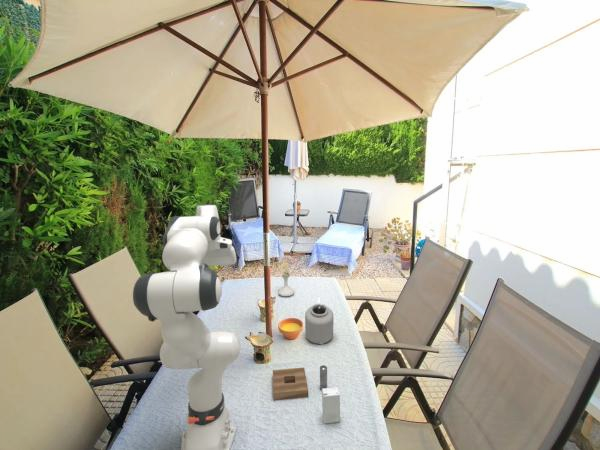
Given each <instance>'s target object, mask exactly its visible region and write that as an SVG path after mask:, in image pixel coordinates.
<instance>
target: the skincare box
mask: <svg viewBox="0 0 600 450" xmlns="http://www.w3.org/2000/svg"><path fill="white" fill-rule="evenodd" d="M340 397H341V394H340V392H339V388H338V386H335V387H327V388H324V389H322V391H321V398H322V399H321V400H322V402H321V403H322V406H321V407H322V417H323V424H333V423H334V424H335V423H341V398H340Z"/></svg>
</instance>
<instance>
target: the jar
mask: <svg viewBox="0 0 600 450" xmlns="http://www.w3.org/2000/svg"><path fill="white" fill-rule="evenodd" d="M318 298H319V299H318V300H317V303H316V304H313V305H312V306H310V307H308V308H307V310H306V311H305V313H304V314H305V315H304V321H305V324H304V325H305V326H304V327H305V328H304V329H305V332H304V333H305V336H306V338H307V340H309V341H310V342H311V343H314V344H318V345H319V344H320V345H324V344H325V343H328V342H330V340H331V339H332V338H333V336H334V319H335V318H334V312H333V310H332V309H331V308H330V307H328V306H327V305H326V304H323V303H320V300H321V299H320V297H318ZM327 349H329V348H327Z"/></svg>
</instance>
